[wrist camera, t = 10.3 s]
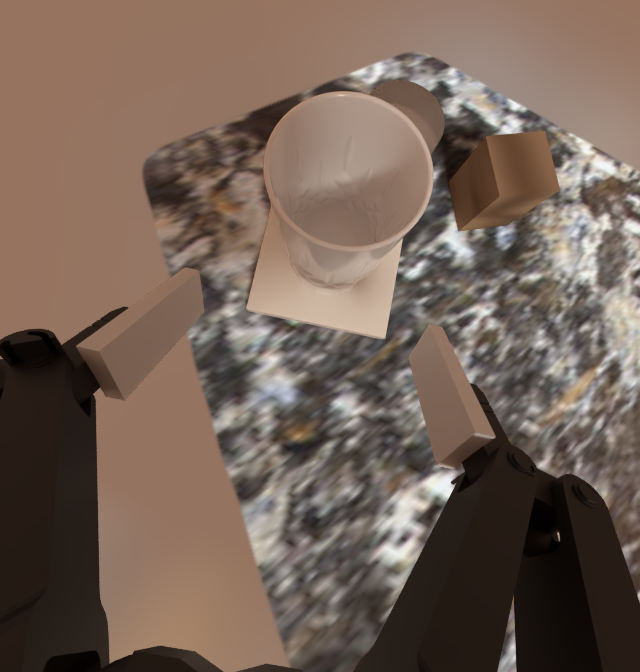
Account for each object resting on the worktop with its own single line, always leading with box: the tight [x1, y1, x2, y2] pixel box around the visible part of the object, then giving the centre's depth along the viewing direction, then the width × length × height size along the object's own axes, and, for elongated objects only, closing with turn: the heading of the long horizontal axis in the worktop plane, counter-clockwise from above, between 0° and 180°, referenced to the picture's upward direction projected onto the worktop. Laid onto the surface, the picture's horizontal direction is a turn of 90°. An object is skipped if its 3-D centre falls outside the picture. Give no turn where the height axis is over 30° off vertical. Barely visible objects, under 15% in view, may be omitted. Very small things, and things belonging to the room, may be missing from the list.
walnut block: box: [448, 131, 560, 231], centre depth 21 cm, size 5×5×5 cm
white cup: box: [263, 91, 433, 296], centre depth 16 cm, size 8×8×10 cm
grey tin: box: [369, 80, 445, 155], centre depth 20 cm, size 6×6×6 cm
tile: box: [246, 205, 403, 339], centre depth 21 cm, size 12×12×1 cm
